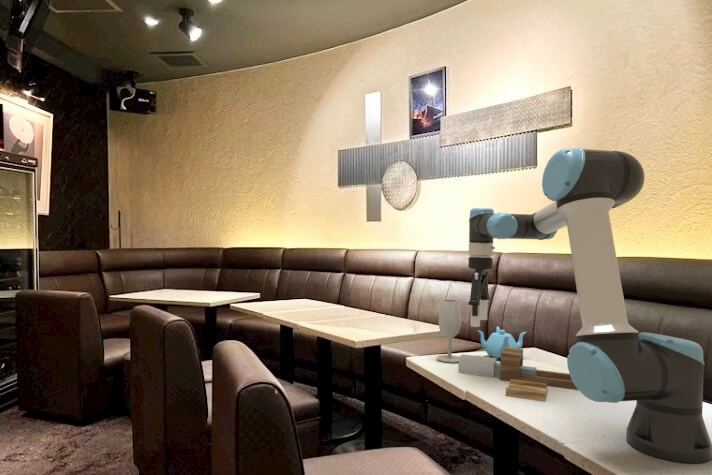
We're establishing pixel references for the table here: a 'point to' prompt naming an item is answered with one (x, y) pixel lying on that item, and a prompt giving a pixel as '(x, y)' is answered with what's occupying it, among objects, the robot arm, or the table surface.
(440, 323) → the wineglass
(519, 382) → the tan tray
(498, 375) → the block
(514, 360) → the brown wooden forked piece
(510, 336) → the teapot
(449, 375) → the table surface
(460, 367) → the block
